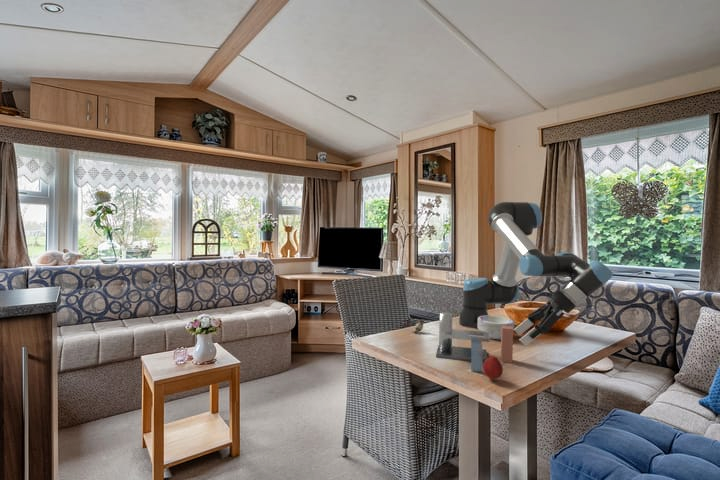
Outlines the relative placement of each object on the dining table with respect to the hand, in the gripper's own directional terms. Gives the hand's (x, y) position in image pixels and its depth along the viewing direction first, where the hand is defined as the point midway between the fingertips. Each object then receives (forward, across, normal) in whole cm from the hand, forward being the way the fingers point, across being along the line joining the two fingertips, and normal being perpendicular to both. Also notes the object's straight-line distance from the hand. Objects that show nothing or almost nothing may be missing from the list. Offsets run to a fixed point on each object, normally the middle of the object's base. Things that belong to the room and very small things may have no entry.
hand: (519, 337), depth 125 cm
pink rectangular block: (+9, +1, -4) cm, 10 cm away
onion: (+14, -19, +1) cm, 24 cm away
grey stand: (+20, -3, +7) cm, 21 cm away
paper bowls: (+10, +33, -3) cm, 34 cm away
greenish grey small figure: (+34, +28, +21) cm, 48 cm away
